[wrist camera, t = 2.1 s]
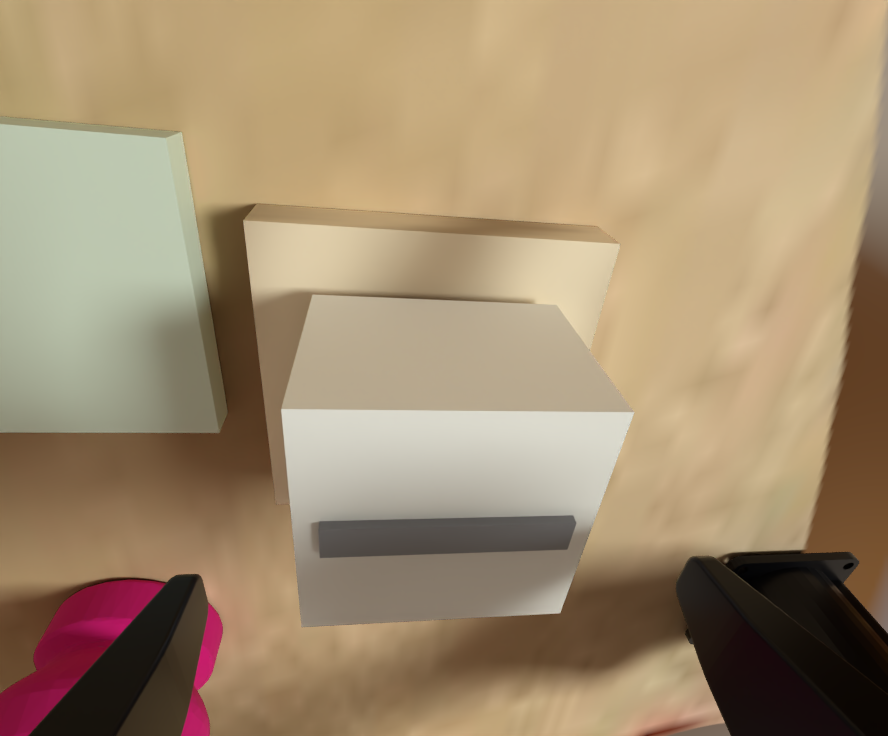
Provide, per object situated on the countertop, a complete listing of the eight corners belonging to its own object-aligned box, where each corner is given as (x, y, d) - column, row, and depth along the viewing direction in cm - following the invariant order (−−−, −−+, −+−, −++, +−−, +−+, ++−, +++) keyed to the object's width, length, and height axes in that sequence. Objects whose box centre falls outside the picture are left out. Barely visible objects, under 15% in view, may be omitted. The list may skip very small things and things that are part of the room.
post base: (597, 226, 14) (711, 313, 9) (535, 468, 18) (588, 608, 14) (257, 203, 12) (184, 291, 8) (283, 471, 17) (248, 626, 12)
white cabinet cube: (556, 304, 12) (639, 418, 9) (515, 478, 16) (562, 621, 12) (312, 294, 12) (279, 416, 8) (321, 480, 15) (300, 636, 11)
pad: (181, 132, 11) (165, 138, 10) (227, 412, 15) (219, 432, 15) (-236, 95, 10) (-291, 99, 9) (-64, 410, 14) (-92, 432, 13)
